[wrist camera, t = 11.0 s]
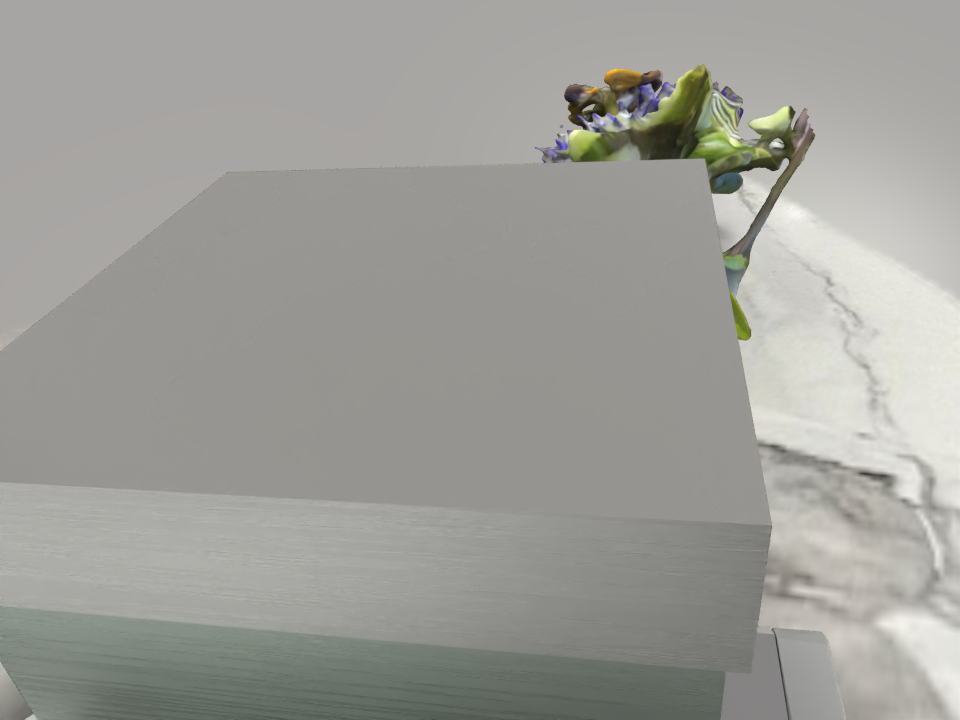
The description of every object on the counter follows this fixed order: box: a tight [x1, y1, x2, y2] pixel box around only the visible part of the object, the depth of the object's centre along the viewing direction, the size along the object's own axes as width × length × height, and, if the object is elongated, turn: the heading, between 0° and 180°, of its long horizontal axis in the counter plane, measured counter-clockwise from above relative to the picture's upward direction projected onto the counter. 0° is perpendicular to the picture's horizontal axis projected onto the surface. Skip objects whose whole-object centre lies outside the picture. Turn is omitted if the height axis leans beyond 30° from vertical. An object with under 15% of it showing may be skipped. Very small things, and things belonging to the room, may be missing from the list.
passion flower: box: [535, 64, 815, 340], centre depth 29 cm, size 11×11×12 cm
